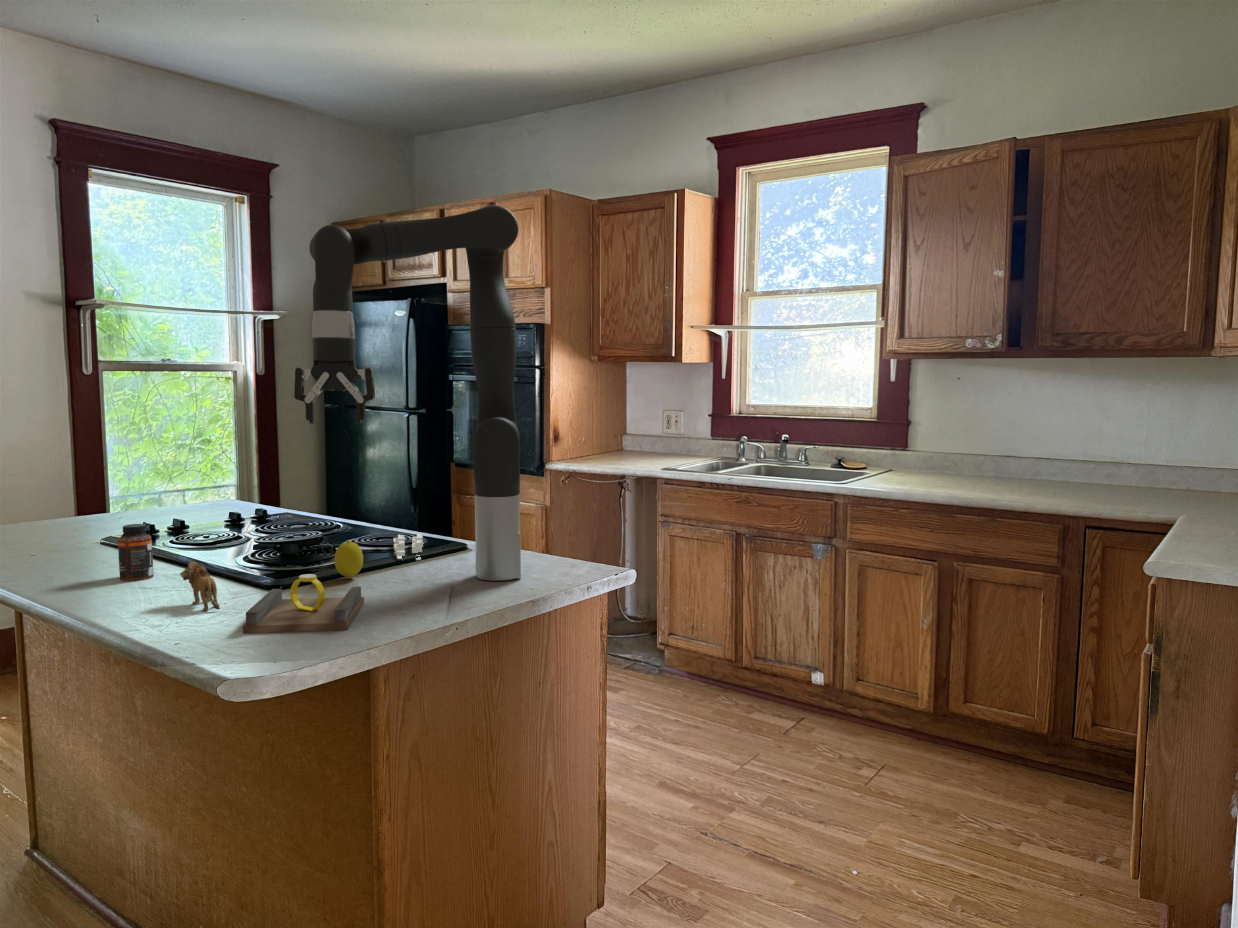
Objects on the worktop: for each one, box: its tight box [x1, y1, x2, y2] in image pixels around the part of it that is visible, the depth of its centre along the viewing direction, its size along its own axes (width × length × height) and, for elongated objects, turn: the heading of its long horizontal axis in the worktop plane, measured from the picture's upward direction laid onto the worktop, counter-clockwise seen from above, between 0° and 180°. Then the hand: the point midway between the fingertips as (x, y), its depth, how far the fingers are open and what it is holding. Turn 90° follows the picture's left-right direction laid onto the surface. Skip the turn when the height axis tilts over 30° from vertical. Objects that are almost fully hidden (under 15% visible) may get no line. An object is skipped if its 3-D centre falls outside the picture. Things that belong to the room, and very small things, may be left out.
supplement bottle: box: [117, 523, 154, 582], centre depth 169 cm, size 6×6×11 cm
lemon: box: [334, 539, 364, 580], centre depth 172 cm, size 6×6×8 cm
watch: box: [289, 573, 326, 612], centre depth 143 cm, size 6×3×6 cm, turn 73°
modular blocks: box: [392, 533, 424, 561], centre depth 196 cm, size 20×7×4 cm, turn 16°
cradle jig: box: [242, 586, 365, 634], centre depth 143 cm, size 16×17×3 cm
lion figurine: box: [179, 561, 221, 612], centre depth 150 cm, size 12×4×7 cm, turn 49°
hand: (336, 423), depth 159 cm, fingers open, 8 cm apart
